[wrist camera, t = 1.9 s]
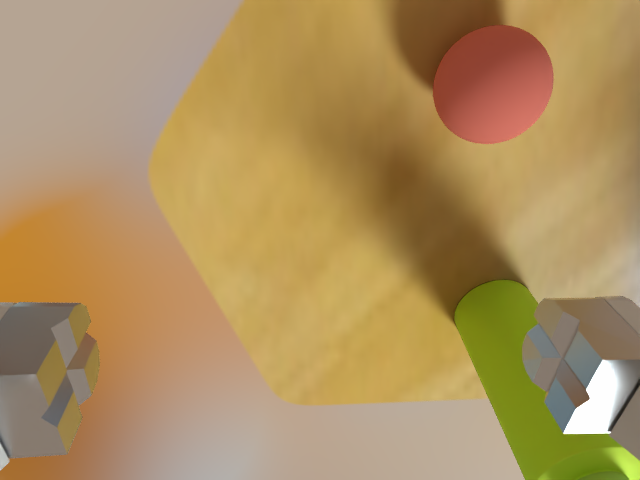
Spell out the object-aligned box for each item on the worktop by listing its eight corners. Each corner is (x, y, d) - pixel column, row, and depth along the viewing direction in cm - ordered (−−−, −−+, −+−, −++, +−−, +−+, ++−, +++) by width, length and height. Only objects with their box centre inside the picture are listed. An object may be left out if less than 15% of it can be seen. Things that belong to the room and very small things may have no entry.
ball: (535, 19, 24) (596, 38, 19) (507, 124, 27) (553, 162, 22) (430, 15, 23) (466, 33, 19) (413, 122, 26) (441, 160, 22)
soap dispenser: (449, 279, 33) (624, 635, 16) (542, 279, 33) (806, 623, 16) (433, 339, 36) (566, 689, 19) (519, 338, 36) (720, 677, 20)
